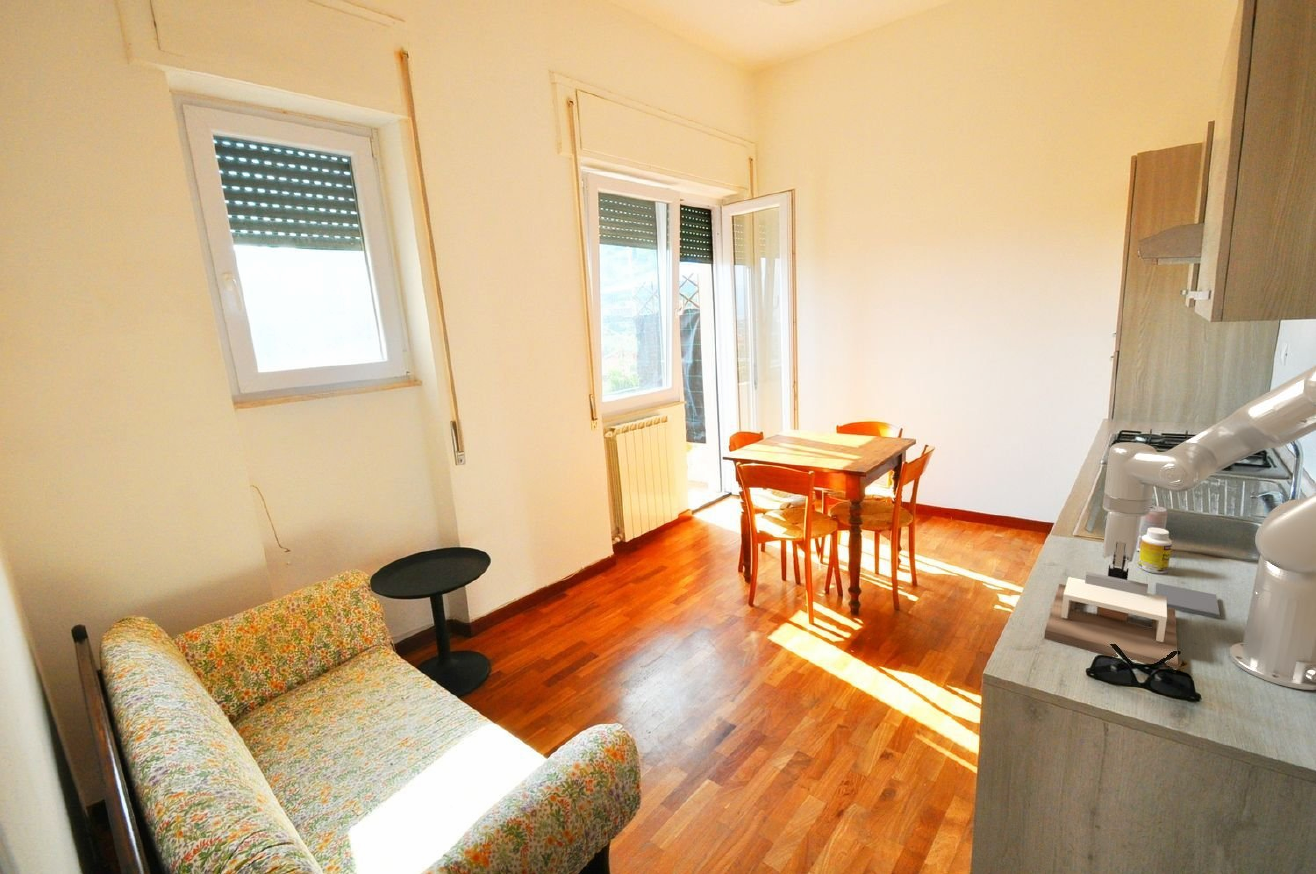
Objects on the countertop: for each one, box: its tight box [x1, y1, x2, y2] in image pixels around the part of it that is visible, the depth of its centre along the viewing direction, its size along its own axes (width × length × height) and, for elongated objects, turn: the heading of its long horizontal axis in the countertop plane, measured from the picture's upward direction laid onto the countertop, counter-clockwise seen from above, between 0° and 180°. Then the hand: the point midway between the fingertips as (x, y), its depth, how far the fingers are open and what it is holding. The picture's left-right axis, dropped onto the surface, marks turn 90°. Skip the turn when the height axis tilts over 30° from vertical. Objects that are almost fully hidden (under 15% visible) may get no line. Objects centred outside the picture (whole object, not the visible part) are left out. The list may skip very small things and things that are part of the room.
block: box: [1096, 606, 1129, 622], centre depth 121 cm, size 5×5×6 cm
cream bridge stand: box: [1061, 571, 1167, 642], centre depth 116 cm, size 9×16×7 cm, turn 50°
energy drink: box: [1135, 504, 1168, 553], centre depth 148 cm, size 5×5×12 cm
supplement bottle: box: [1137, 528, 1173, 574], centre depth 139 cm, size 6×6×10 cm
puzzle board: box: [1043, 583, 1179, 670], centre depth 118 cm, size 23×20×2 cm
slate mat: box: [1155, 582, 1221, 620], centre depth 126 cm, size 10×10×1 cm
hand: (1116, 585), depth 121 cm, fingers closed
